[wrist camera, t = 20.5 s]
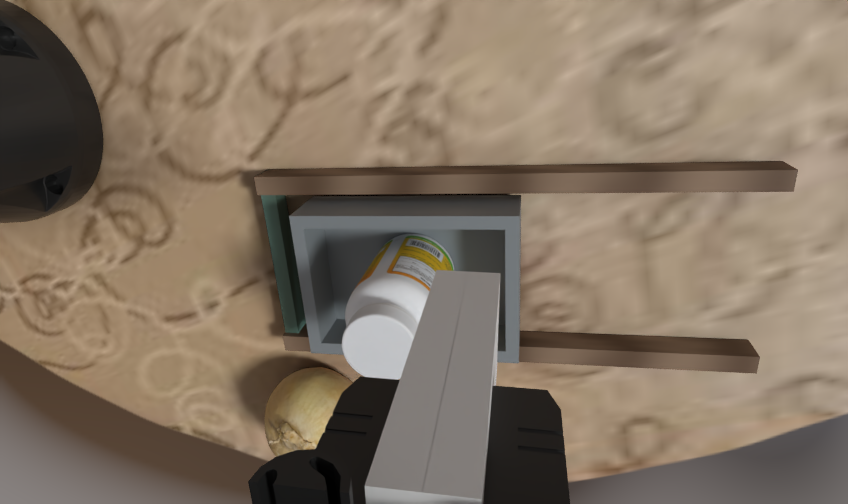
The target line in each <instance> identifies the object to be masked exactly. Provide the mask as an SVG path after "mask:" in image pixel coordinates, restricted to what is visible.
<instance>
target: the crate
mask: <svg viewBox="0 0 848 504" xmlns="http://www.w3.org/2000/svg"><path fill="white" fill-rule="evenodd" d="M289 219H290V225H291V231H292V238H293V244H294V250H295V256H296V262H297V269H298V275H299V281H300V287H301V293H302V300H303V306H304V312H305V318H306V324H307V330H308V337H309V343H310V349H311V353H322V354H342V355H344V354H343V350H342V336H343V333H344V331H345V329H346V321H345V311H346V306H347V303H348V300H349V298H350V296H351V294H352V292H353V291H354V289H355V287H356V286H357V284H358V283H359V282H360V280H361V278H362V277H363V275H364V274H365V272H366V271H367V269H368V268H369V266H370V265H371V263H372V261H373V260H374V258H375V257H376V255H377V254H378V252H379V251H380V249H381V248H382V247H383V246H384V245H385V244H386V243H387V242H388V241H390V240H391V239H393V238H395V237H397V236H400V235H404V234H420V235H424V236H427V237H429V238H432V239H433V240H435V241H437V242H438V243H439V244H440V245H441V246H443V247H444V249H445V250H446V251H447V252H448V254H449V255H450V257H451V259H452V262H453V265H454V271H467V272H487V273H500V298H499V324H498V351H497V362H504V363H519V342H520V251H521V195H463V196H313V197H312V198H310V199H309V200H308V201H307V202H306V203H304V204H303V205H302V206H301V207H299V208H298V209H297V210H296V211H295V212H293V213H292V214H291V215H290V216H289Z"/></svg>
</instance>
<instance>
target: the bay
mask: <svg viewBox="0 0 848 504" xmlns="http://www.w3.org/2000/svg"><path fill="white" fill-rule="evenodd" d="M797 172H798V170H797V169H795V168H794V167H792V166H790V165H788V164H787V163H785V162H783V161H761V162H699V163H637V164H575V165H513V166H451V167H389V168H327V169H267V170H266V171H264V172H262V173H260V174H259V175H257V176H255V177H254V180H255V186H256V191H257V195H261V198H262V203H263V209H264V215H265V220H266V226H267V231H268V237H269V242H270V248H271V254H272V259H273V265H274V270H275V276H276V281H277V287H278V293H279V298H280V304H281V309H282V315H283V321H284V326H285V332H286V333H285V334H284V335H283V340H284V345H285V350H288V351H309V352H311V349H310V343H309V337H308V330H307V324H306V319H305V313H304V307H303V300H302V294H301V288H300V282H299V276H298V269H297V263H296V257H295V251H294V245H293V239H292V232H291V226H290V220H289V214H288V208H287V201H286V195H363V194H508V193H654V192H794V187H795V182H796V177H797ZM759 359H760V357H759V355H758V354H757V352H756V351H755V349H754V348H753V346H752V345H751V343H750V342H749V340H738V339H712V338H686V337H660V336H634V335H608V334H582V333H557V332H531V331H520V342H519V362H534V363H554V364H575V365H595V366H616V367H636V368H657V369H677V370H698V371H718V372H739V373H757V369H758V364H759Z"/></svg>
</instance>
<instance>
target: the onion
mask: <svg viewBox="0 0 848 504" xmlns="http://www.w3.org/2000/svg"><path fill="white" fill-rule="evenodd" d="M352 383H353V382H351V381H350V380H349V379H347V378H346V377H344V376H342V375H340V374H339V373H337V372H335V371H333V370H331V369H327V368H323V367H315V368H306V369H302V370H299V371H296V372H294V373H292V374H290V375H289V376H287V377H286V378H284V379H283V380H282V381H281V382H280V383H279V384H278V385H277V387H276V388H275V389H274V391H273V392H272V394H271V395H270V397H269V399H268V402H267V406H266V410H265V433H266V438H267V441H268V444H269V446H270V448H271V450H272V452H273V453H274V455H275V456H276V457H277V456H279V455H282V454H286V453H289V452H292V451H295V450H308V449H315V448H316V446H317V444H318V442H319V440H320V438H321V436H322V434H323V433H324V432H325V427H326V425H327V423H328V421H329V419H330V417H331V416H332V415H333V411H334V408H335V406H336V404H337V402H338V400H339V398H340V396H341V394H342V392H343V391H344V390H345V389H347V388H348V387H349V386H350V385H351V384H352Z"/></svg>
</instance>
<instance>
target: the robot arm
mask: <svg viewBox="0 0 848 504" xmlns="http://www.w3.org/2000/svg"><path fill="white" fill-rule="evenodd" d="M102 152H103V132H102V123H101V118H100V113H99V109H98V106H97V103H96V99H95V97H94V94H93V91H92V89H91V87H90V85H89V82H88V80H87V78H86V76H85V74H84V73H83V71H82V69H81V67H80V66H79V64H78V63H77V61H76V60H75V58H74V57H73V55H72V54H71V53H70V51H69V50H68V49H67V47H66V46H65V45H64V44H63V43H62V41H61V40H60V39H59V38H58V37H57V36H56V35H55V34H54V33H53V32H52V31H51V30H50V29H49V28H48V27H47V26H46V25H44V24H43V23H42V22H41V21H40V20H38V19H37V18H36V17H34V16H33V15H31V14H30V13H28V12H27V11H25V10H24V9H22V8H20V7H18V6H16V5H14V4H12V3H10V2H8V1H6V0H0V223H10V222H25V221H31V220H35V219H39V218H42V217H45V216H48V215H50V214H53V213H55V212H58V211H60V210H62V209H65V208H67V207H69V206H71V205H73V204H74V203H76V202H77V201H78V200H80V199H81V198H82V197H83V196H84V195H85V194H86V193H87V191H88V190H89V189H90V187H91V186H92V184H93V182H94V181H95V178H96V176H97V174H98V171H99V168H100V164H101V159H102ZM499 298H500V273H487V272H467V271H447V270H436V273H435V276H434V279H433V282H432V285H431V288H430V291H429V294H428V297H427V300H426V303H425V306H424V309H423V312H422V315H421V318H420V321H419V324H418V327H417V330H416V333H415V336H414V339H413V342H412V345H411V348H410V351H409V354H408V357H407V360H406V363H405V366H404V369H403V372H402V375H401V378H400V380H396V379H384V378H372V377H359V378H358V379H357V380H356V381H355V382H354V383H352V384H351V385H350V386H349V387H348V388H347V389H345V390H344V391H343V392H342V394H341V396H340V398H339V400H338V402H337V404H336V406H335V408H334V411H333V415H332V416H331V417H330V419H329V421H328V423H327V425H326V427H325V432H324V433H323V434H322V436H321V438H320V440H319V442H318V444H317V446H316V448H315V449H308V450H295V451H292V452H289V453H286V454H282V455H279V456H277V457H275V458H274V459H272V460H271V461H269V462H267V463H266V464H265V465H263V466H261V467H260V468H259V469H258V471H257V472H256V473H255V474H254V475H253V477H252V478H251V479H250V480H249V482H248V483H249V488H250V493H251V498H252V504H570V499H569V489H568V478H567V468H566V458H565V448H564V438H563V427H562V417H561V409H560V408H559V406H558V405H557V404H556V402H555V401H554V399H553V398H552V396H551V395H550V393H549V392H548V390H539V389H527V388H515V387H503V386H496V374H497V351H498V324H499Z"/></svg>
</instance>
